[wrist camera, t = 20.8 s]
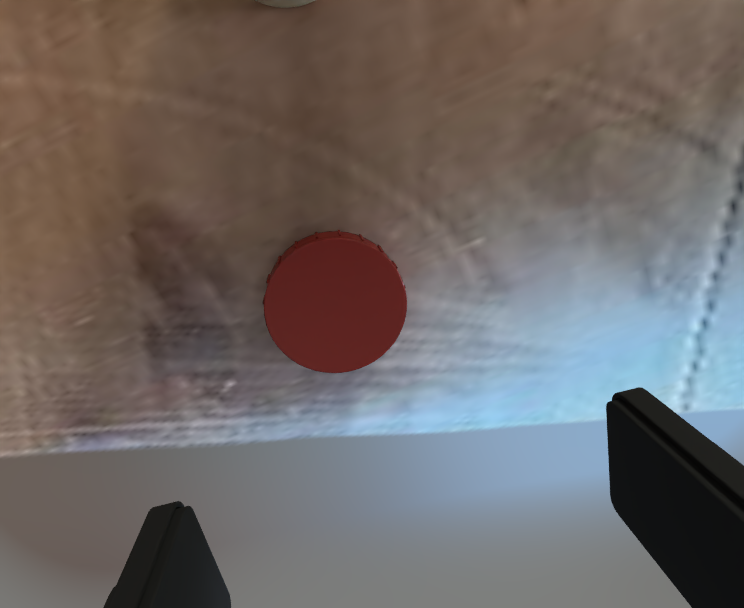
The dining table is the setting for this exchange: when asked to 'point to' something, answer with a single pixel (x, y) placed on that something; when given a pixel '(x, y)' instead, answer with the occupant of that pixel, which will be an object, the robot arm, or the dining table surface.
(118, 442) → the dining table surface
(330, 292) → the lid
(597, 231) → the dining table surface
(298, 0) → the jar
